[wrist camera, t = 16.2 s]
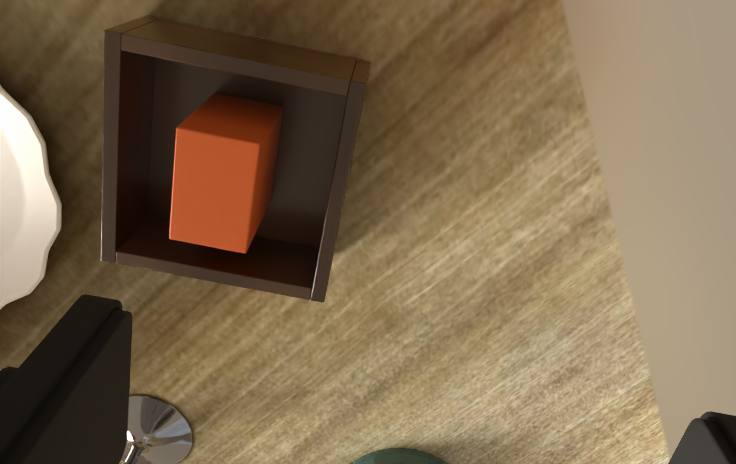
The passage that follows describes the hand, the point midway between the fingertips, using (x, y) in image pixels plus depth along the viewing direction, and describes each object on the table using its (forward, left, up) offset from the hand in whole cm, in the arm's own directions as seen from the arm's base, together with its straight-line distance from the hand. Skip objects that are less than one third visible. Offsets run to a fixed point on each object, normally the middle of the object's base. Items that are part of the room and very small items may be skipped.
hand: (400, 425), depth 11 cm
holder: (+8, +6, -28) cm, 30 cm away
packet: (+8, +6, -28) cm, 29 cm away
